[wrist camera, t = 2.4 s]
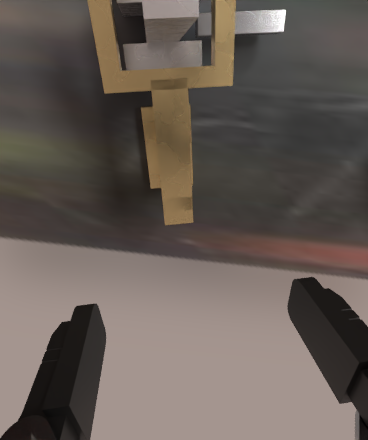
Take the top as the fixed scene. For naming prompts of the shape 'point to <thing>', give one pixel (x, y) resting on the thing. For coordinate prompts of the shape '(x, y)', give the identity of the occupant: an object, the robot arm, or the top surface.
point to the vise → (184, 31)
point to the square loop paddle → (167, 101)
